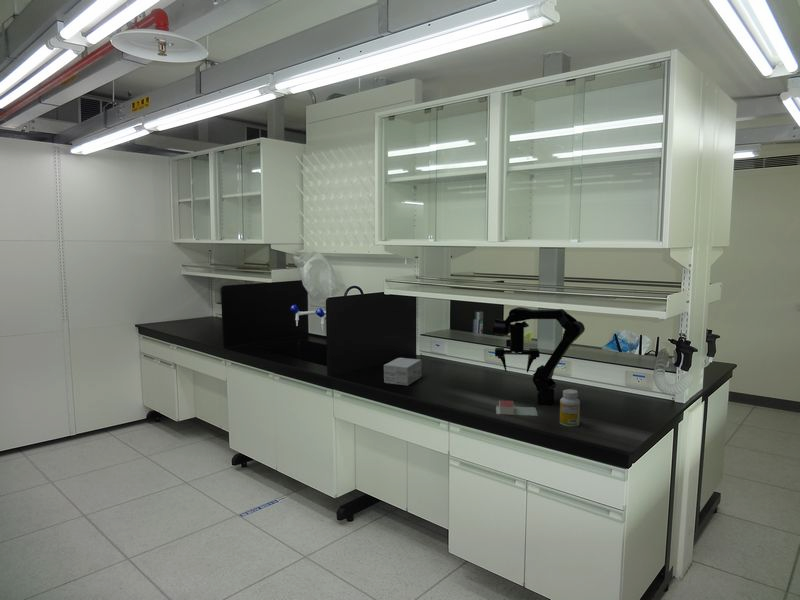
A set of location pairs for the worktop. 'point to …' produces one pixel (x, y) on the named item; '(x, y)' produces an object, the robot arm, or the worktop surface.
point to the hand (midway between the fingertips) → (516, 371)
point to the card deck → (506, 407)
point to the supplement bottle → (570, 408)
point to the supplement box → (402, 371)
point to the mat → (521, 411)
